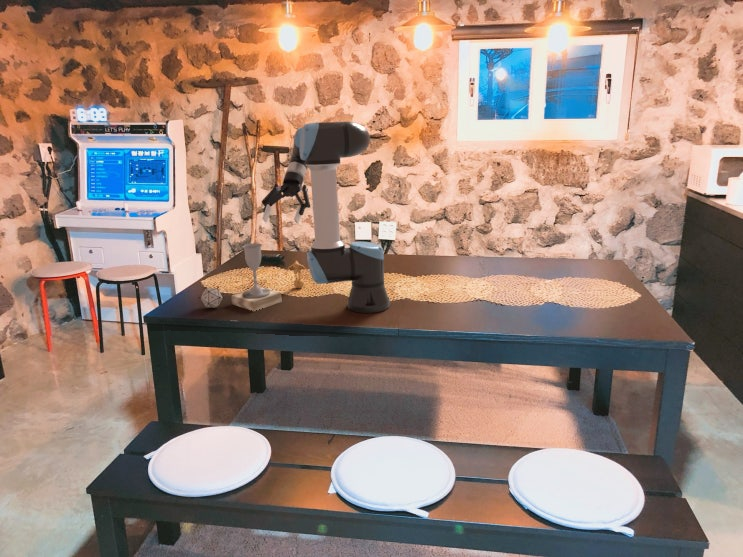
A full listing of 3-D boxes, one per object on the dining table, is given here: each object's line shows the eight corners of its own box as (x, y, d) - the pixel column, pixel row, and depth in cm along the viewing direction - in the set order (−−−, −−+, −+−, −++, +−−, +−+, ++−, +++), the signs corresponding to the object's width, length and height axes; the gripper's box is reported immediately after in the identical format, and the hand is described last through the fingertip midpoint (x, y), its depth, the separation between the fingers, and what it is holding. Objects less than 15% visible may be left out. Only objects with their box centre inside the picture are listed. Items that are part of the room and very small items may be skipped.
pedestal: (281, 301, 222) (281, 291, 221) (254, 311, 212) (253, 300, 211) (259, 295, 230) (258, 285, 229) (232, 304, 221) (231, 294, 219)
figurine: (310, 286, 239) (308, 257, 235) (307, 291, 233) (306, 261, 230) (289, 286, 239) (287, 258, 236) (287, 291, 234) (284, 262, 230)
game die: (214, 319, 217) (207, 304, 208) (198, 308, 220) (190, 292, 212) (231, 302, 221) (225, 287, 212) (215, 291, 224) (208, 276, 216)
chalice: (261, 296, 216) (257, 248, 211) (243, 295, 217) (239, 247, 212) (268, 290, 223) (264, 243, 218) (251, 289, 224) (247, 243, 219)
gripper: (326, 182, 237) (313, 227, 228) (270, 181, 245) (255, 224, 236) (320, 170, 230) (306, 216, 221) (263, 170, 238) (247, 214, 229)
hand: (280, 221), depth 228 cm, fingers open, 13 cm apart
